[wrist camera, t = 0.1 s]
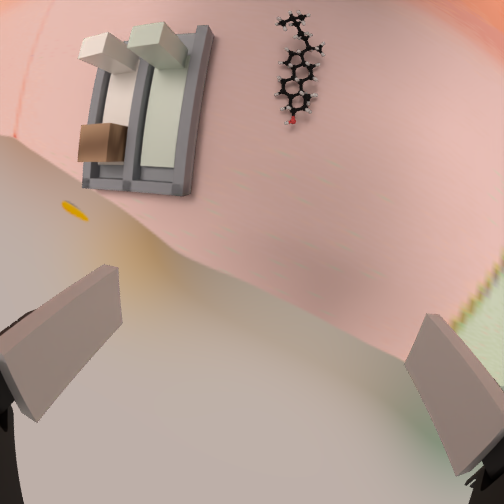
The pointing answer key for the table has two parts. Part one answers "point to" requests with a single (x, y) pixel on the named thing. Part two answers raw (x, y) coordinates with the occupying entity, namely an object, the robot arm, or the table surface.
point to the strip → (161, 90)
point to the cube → (102, 143)
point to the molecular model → (294, 67)
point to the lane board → (131, 172)
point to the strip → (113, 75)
